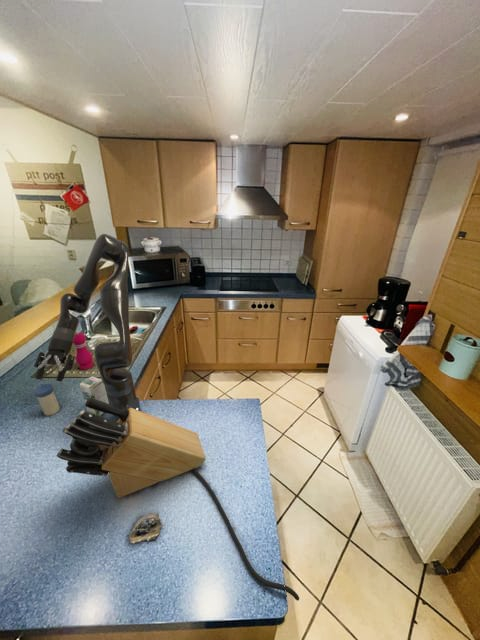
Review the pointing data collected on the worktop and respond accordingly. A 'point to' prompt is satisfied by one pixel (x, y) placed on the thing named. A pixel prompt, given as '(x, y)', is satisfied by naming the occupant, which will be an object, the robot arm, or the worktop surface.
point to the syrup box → (94, 392)
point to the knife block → (129, 448)
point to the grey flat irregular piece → (146, 528)
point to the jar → (49, 404)
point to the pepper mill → (82, 352)
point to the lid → (43, 390)
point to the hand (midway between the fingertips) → (48, 380)
